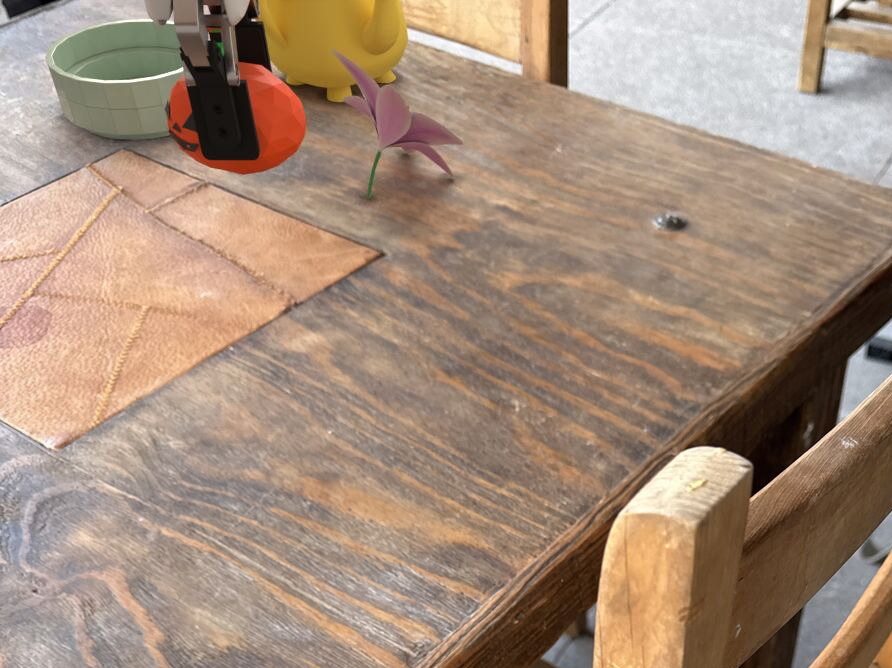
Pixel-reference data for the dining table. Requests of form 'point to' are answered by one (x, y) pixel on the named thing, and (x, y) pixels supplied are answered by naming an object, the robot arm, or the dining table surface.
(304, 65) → the yellow rounded piece
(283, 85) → the pumpkin
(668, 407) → the dining table surface
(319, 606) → the dining table surface
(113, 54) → the bowl
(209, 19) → the robot arm
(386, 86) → the lily
